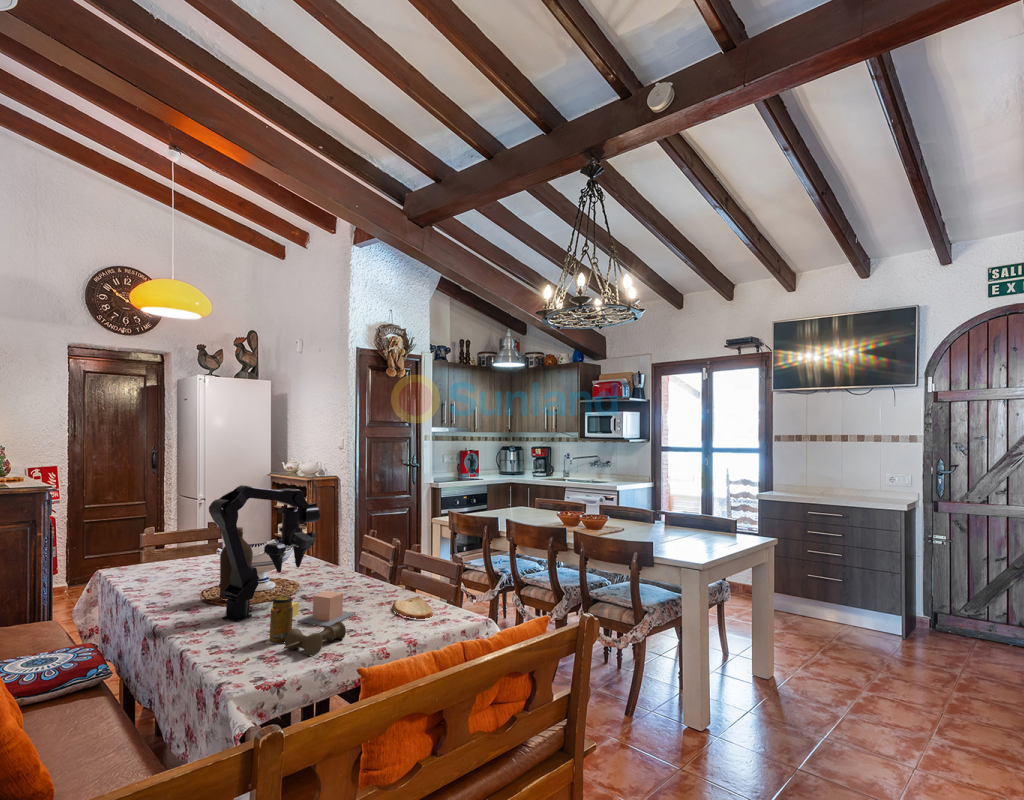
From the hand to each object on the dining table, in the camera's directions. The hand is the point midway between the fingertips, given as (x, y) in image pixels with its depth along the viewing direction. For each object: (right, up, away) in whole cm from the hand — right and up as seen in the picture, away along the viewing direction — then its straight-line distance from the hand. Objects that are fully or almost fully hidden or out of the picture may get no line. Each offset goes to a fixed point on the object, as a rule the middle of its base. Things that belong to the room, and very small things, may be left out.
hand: (288, 569), depth 204 cm
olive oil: (-22, -12, +5) cm, 25 cm away
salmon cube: (+18, -11, -14) cm, 26 cm away
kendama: (+22, -11, -40) cm, 47 cm away
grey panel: (+18, -12, -14) cm, 26 cm away
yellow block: (+5, -12, -12) cm, 18 cm away
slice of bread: (+45, -14, -4) cm, 47 cm away
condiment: (+11, -11, -34) cm, 38 cm away
